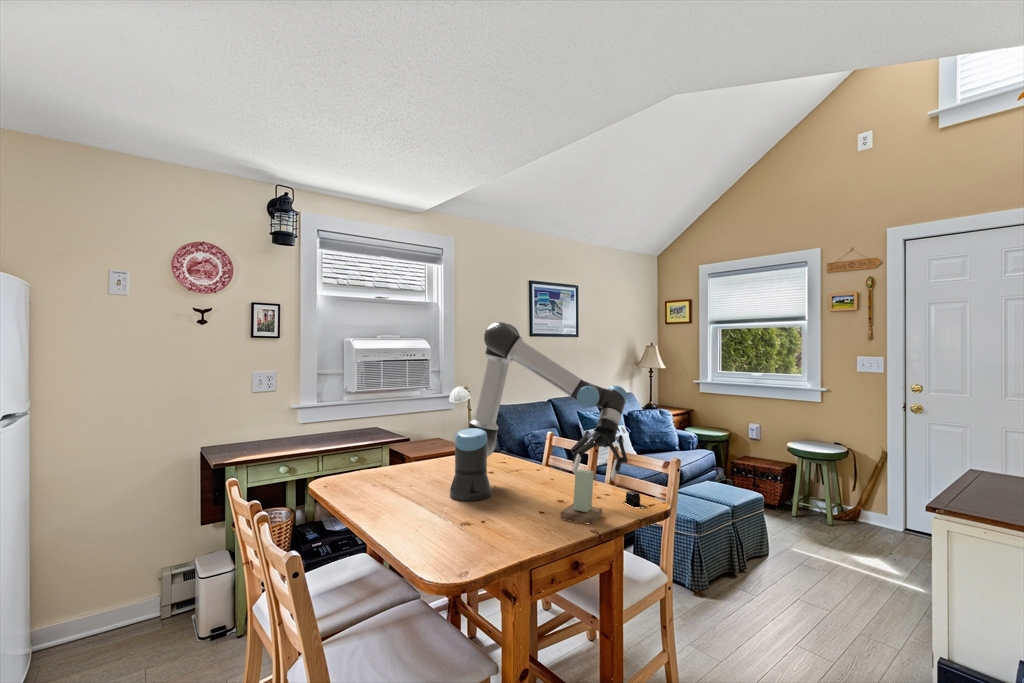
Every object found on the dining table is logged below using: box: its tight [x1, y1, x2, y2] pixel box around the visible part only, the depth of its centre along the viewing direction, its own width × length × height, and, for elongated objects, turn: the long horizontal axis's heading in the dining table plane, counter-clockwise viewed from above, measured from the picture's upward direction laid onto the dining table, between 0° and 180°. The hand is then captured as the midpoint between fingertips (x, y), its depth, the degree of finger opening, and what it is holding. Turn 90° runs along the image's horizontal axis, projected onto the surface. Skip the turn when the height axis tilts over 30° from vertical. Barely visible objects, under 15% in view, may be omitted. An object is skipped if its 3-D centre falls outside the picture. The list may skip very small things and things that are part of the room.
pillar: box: [573, 468, 595, 512], centre depth 157 cm, size 4×4×12 cm
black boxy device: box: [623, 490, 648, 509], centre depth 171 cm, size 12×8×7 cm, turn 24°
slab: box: [560, 502, 603, 525], centre depth 156 cm, size 10×10×3 cm
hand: (592, 475), depth 167 cm, fingers open, 13 cm apart
